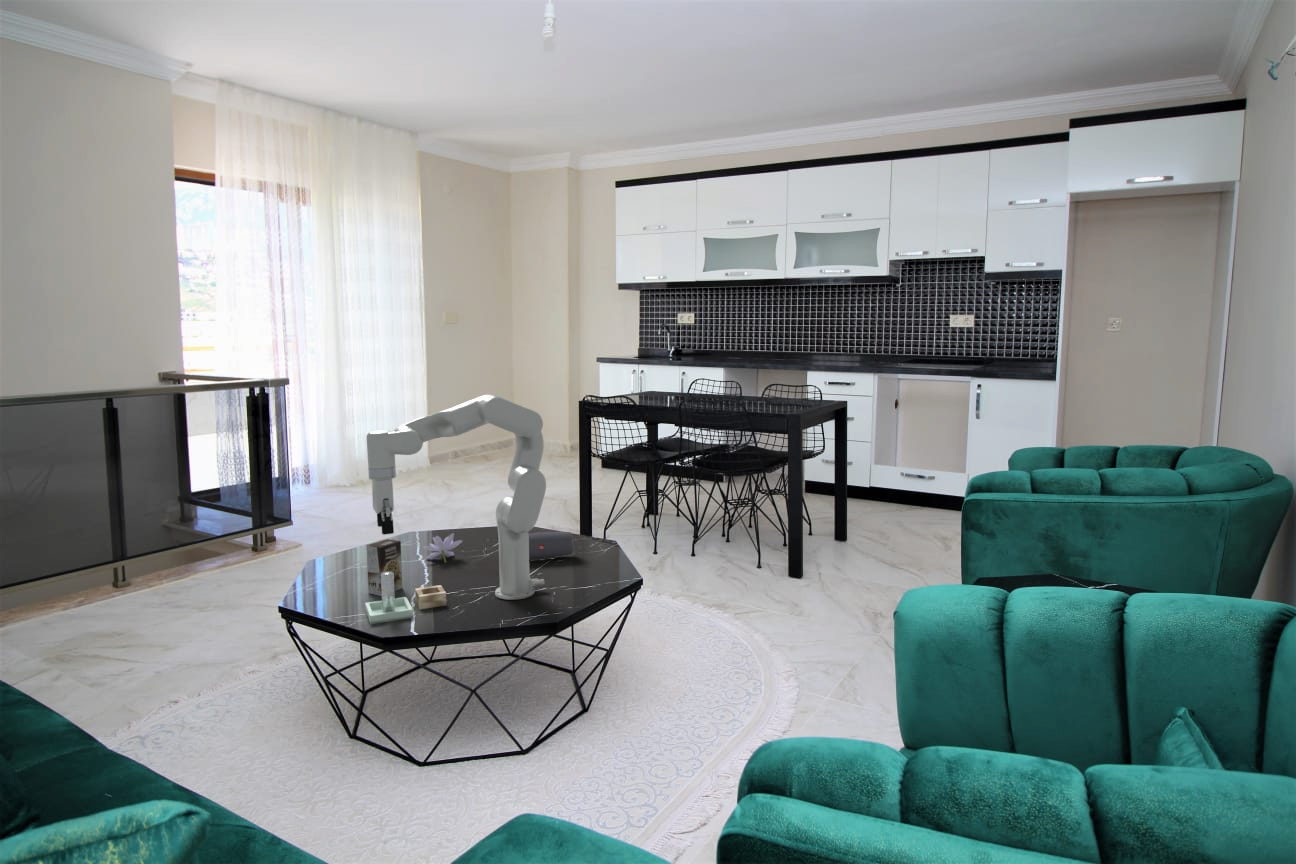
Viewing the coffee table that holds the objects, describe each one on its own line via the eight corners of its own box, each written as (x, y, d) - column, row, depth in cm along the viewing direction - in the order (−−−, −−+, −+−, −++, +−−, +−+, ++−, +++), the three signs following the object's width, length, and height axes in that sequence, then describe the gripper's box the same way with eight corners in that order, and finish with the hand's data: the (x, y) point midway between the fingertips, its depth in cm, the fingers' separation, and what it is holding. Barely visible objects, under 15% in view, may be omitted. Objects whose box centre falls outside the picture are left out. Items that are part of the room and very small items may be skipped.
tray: (406, 604, 244) (406, 596, 244) (413, 617, 233) (412, 609, 233) (365, 610, 239) (365, 602, 238) (370, 624, 228) (369, 616, 228)
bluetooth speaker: (510, 565, 283) (509, 538, 282) (508, 557, 292) (507, 531, 291) (573, 560, 289) (572, 534, 287) (569, 553, 298) (569, 527, 296)
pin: (381, 611, 237) (380, 572, 235) (394, 609, 238) (392, 570, 237) (383, 615, 234) (381, 575, 232) (395, 613, 235) (394, 574, 233)
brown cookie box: (382, 596, 251) (379, 547, 249) (367, 593, 254) (365, 544, 252) (403, 588, 259) (401, 540, 257) (389, 585, 262) (387, 538, 260)
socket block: (441, 597, 250) (440, 585, 250) (446, 605, 243) (446, 592, 243) (415, 601, 247) (414, 588, 246) (419, 609, 240) (419, 596, 239)
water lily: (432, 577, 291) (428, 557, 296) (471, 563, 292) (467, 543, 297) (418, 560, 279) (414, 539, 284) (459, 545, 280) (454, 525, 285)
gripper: (365, 469, 236) (368, 524, 239) (372, 479, 221) (375, 538, 223) (391, 466, 239) (394, 521, 242) (400, 476, 224) (403, 535, 226)
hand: (385, 529), depth 232 cm, fingers open, 9 cm apart
